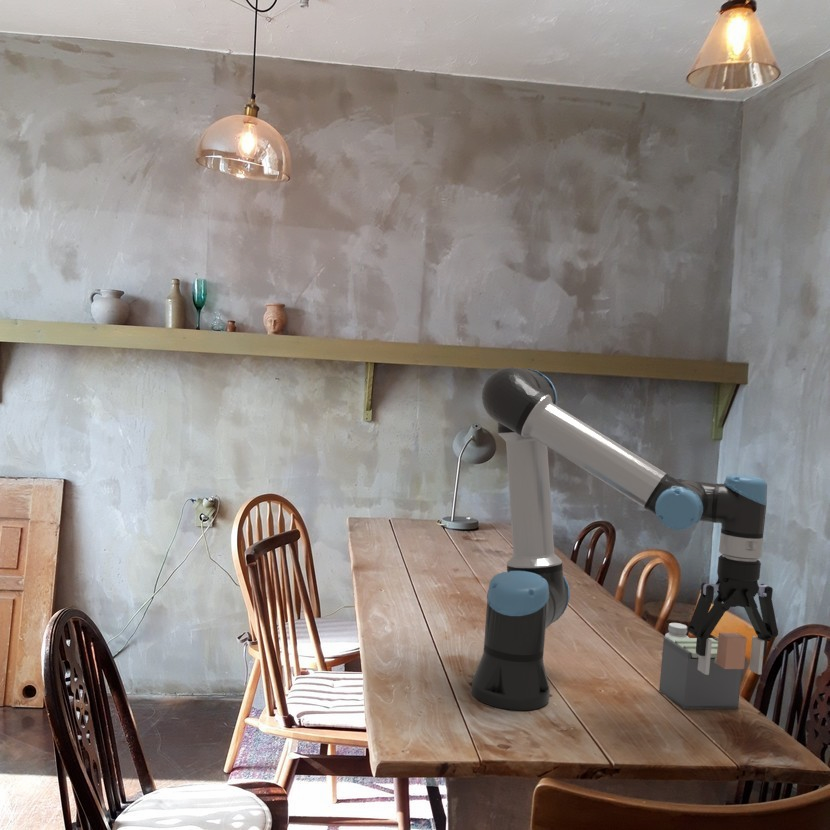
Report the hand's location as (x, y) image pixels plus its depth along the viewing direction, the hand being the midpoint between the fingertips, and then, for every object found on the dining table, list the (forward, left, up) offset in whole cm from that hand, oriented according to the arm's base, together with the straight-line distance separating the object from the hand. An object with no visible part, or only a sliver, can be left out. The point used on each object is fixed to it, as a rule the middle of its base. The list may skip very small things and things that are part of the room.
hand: (729, 672), depth 158 cm
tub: (0, +10, -9) cm, 13 cm away
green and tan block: (0, +6, +1) cm, 7 cm away
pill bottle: (+5, +28, -9) cm, 30 cm away
